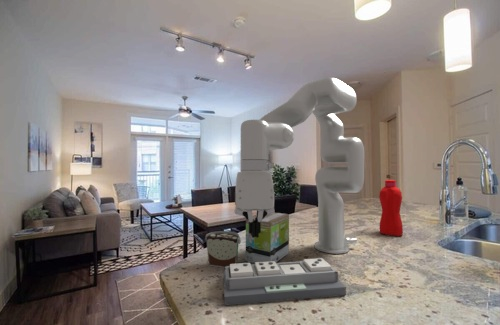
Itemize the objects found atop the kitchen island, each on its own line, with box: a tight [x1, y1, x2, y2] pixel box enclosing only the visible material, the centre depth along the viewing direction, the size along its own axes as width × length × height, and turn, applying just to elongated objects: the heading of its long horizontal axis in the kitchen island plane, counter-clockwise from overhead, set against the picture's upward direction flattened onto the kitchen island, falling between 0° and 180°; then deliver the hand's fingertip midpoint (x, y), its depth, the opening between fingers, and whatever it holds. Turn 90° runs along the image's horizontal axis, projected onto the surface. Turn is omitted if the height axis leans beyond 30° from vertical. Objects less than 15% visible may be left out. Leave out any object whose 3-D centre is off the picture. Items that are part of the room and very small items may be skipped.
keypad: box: [222, 260, 347, 306], centre depth 65 cm, size 30×14×4 cm, turn 97°
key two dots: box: [230, 262, 253, 278], centre depth 63 cm, size 6×6×2 cm
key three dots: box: [303, 257, 332, 272], centre depth 66 cm, size 6×6×2 cm
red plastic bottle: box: [378, 179, 404, 237], centre depth 113 cm, size 9×11×25 cm
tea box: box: [244, 212, 290, 264], centre depth 85 cm, size 15×10×15 cm, turn 148°
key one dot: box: [280, 264, 306, 274], centre depth 65 cm, size 6×6×2 cm
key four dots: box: [255, 261, 280, 276], centre depth 64 cm, size 6×6×2 cm
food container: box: [204, 230, 242, 268], centre depth 80 cm, size 12×6×10 cm, turn 71°
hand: (254, 236), depth 64 cm, fingers closed
